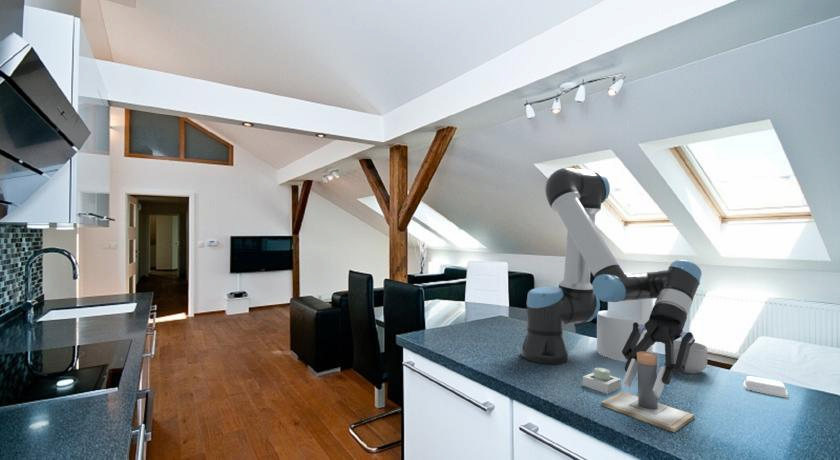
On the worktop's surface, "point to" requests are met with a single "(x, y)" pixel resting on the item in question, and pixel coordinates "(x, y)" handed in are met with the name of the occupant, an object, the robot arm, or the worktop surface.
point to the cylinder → (621, 325)
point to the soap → (765, 386)
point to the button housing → (602, 383)
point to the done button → (602, 374)
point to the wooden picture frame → (648, 412)
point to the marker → (647, 379)
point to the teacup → (693, 357)
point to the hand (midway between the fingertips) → (640, 389)
